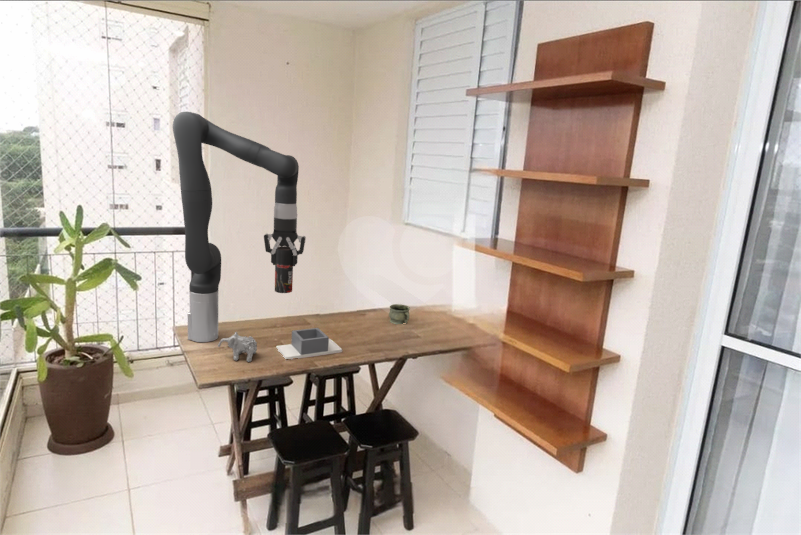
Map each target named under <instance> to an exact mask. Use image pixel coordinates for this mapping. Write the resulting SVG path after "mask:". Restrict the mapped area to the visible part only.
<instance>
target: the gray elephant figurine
mask: <svg viewBox="0 0 801 535" xmlns="http://www.w3.org/2000/svg"><path fill="white" fill-rule="evenodd" d="M223 342H226V343H227V346H228V348H230V349H232V355H233V361H238V360H239V359H240V357H239V355H241V354H245V353H246V354H247V356H246V362H248V363H251V362H252V359H253V355H256V353H257V350H258V345H257V344H258V342H257V341H256V339H255V337H252V336H251V335H250V336H241V335H239V333H238V331H235V332H234V334H232V335H231V336H230V337H224V338H221V339H220V340H219V343H217V347H219V348H220V347H221V344H222V343H223Z"/></svg>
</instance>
